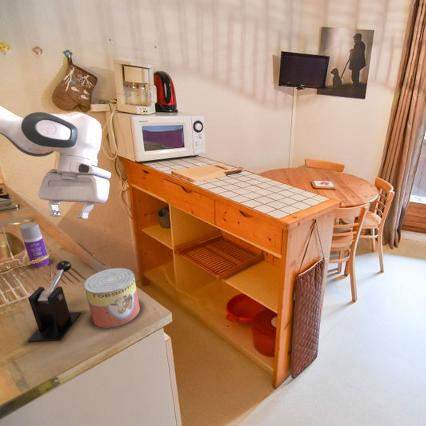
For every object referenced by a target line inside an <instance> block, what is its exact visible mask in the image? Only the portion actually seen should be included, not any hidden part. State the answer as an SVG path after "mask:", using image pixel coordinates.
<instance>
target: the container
mask: <svg viewBox="0 0 426 426" xmlns="http://www.w3.org/2000/svg"><path fill="white" fill-rule="evenodd" d="M19 230H20V233H21V237H22V241H23V244H24V247H25V249H26V253H27V256H28V258H29V262H30V261H32V260H35V259H37V258H39V257H42V256H45V255H47V254H48V251H47V247H46V245H45V240H44V238H43V235H42V232H41V229H40V226H39V223H37V222H26V223H24V224H21V225H20V226H19ZM50 262H51V261H50V258H49V259H46V260H43V261H41V262H39V263H35V264H32V265H31V267H32V268H42V267H45V266H48V265H49V264H50Z"/></svg>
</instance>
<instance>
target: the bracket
mask: <svg viewBox="0 0 426 426" xmlns="http://www.w3.org/2000/svg"><path fill="white" fill-rule="evenodd" d="M42 291H46V289H45V287H44V286H39V287H38V288H37V289H36V290H35V291H34V292H33V293H32V294H31V295H29V296H28V297H27V298H28V302H29V305H30V308H31V311H32V314H33V316H34V320H35V322H36V326H37V328H38V329H37V330H36V331H35V332H34V333H33V335H32V336H31V337H30V338H29V339H28V341H27V342H28V343H44V342H45V343H46V342H58V341H62V340H63V338H64V337H65V336H66V334H67V333H68V332H69V331H70V330H71V328H72V327H73V325H74V324H75V323H76V321H77V320H78V318H79V317H80V316H81V315H82V311H72V312H70V309H69V306H68V303H67V300H66V296H65V292H64V289H63V286H61V285H60V286H58V285H57V287H56V289H55V290H54V291H53V292H52V293H51V294H50V295H49V296H48V297H47V298H48V302H49V305H41V304H40V303H39V302H38V299H39V297H40V295H41V293H42Z"/></svg>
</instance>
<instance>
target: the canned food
mask: <svg viewBox="0 0 426 426" xmlns="http://www.w3.org/2000/svg"><path fill="white" fill-rule="evenodd" d="M83 288H84V290H85V294H86V299H87V302H88V306H89V310H90V314H91V318H92V321H93V325H95V326H96V327H99V328H103V329H108V328H116V327H120V326H123V325H125V324H127V323H129V322H131V321H133V319H134V318H136V317H137V316H138V314H139V312H140V310H141V307H140V301H139V296H138V290H137V284H136V279H135V273H134V272H133V271H132V270H131V269H129V268H126V267H125V268H124V267H114V268H113V267H112V268H108V269H104V270H101V271H98V272H96V273H95V274H92V275H91V276H89V277H88V278H87V279H86V280H85V281H84V284H83Z"/></svg>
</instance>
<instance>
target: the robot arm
mask: <svg viewBox="0 0 426 426" xmlns="http://www.w3.org/2000/svg"><path fill="white" fill-rule="evenodd" d="M0 134H1V135H2V136H3V137H5V138H6V139H7V140H8V141H9V142H10V143H11V144H12V146H14V147H15V148H16V149H18V150H19V151H20V153H23V154H25V155H28V156H31V157H37V158H38V157H40V158H41V157H47V156H49V155H52V154H54V152H57V153H59V158H58V163H57V168H52V169H50V170H49V171H48V172H46V173H45V175H44V176H43V178H42V180H41V183H40V186H39V188H38V189H39V190H38V193H37V196H38V198H39V200H44V201H48V204H47V205H48V206H49V209H50V212H49V216H50V217H54V218H60V217H61V213H62V210H60V208H59V206H60V205H61V202H66V203H82V206H83V208H82V209H81V210H80V211H78V213H77V214H78V215H77V218H78V219H85V220H87V219H88V218H89V215H90V212H91V211H92V210H93V208H95V207H94V206H95V204H105V203H106V202H107V201H108V199H109V194H110V181H109V180H110V179H111V177H112V172H110V171H109V170H105V169H104V168H100V167H99V166H98V165H99V164H98V163H99V160H98V154H99V152H100V150H101V147H102V137H103V130H102V125H101V123H100V122H99V121H98V120H97V119H96V118H95V117H93V116H92V115H89V114H87V113H85V112H81V111H71V112H67V113H51V112H50V113H49V112H43V111H35V112H32V113H29V114H26V116H25V117H21V116H19V115H17V114H15V113H13V112H12V111H10V110H8V109H6V108H5V107H3V106H2V105H0Z"/></svg>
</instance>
